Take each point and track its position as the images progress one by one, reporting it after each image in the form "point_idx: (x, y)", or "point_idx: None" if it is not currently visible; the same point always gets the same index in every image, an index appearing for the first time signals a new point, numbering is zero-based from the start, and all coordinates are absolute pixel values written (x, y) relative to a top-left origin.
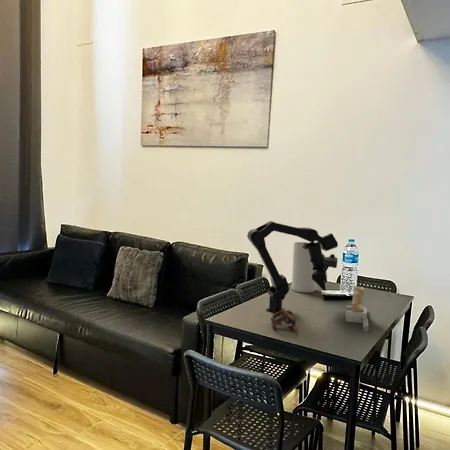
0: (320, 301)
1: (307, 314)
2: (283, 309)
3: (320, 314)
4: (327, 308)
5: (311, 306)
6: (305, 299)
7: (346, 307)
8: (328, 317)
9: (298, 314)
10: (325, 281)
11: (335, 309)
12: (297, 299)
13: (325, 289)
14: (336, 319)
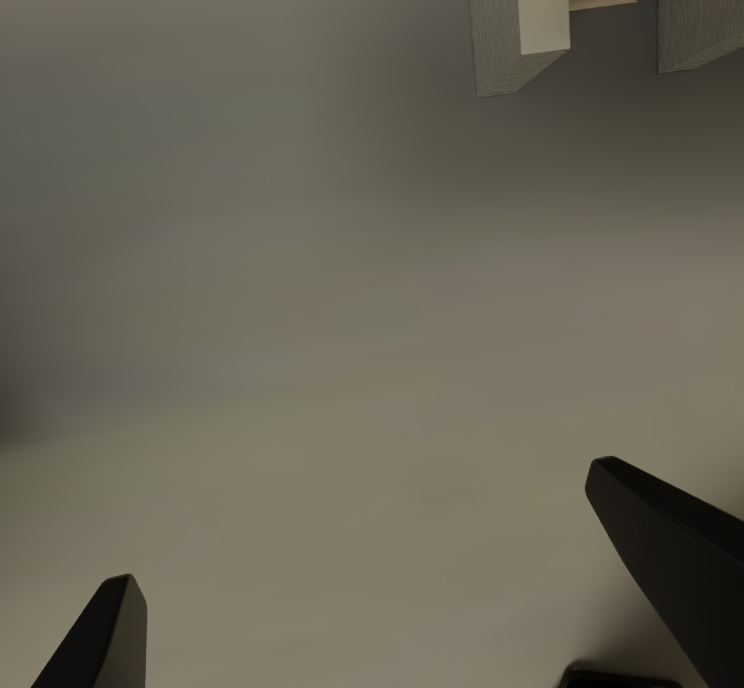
0: (58, 466)
1: None
2: (593, 683)
3: (555, 365)
4: (300, 341)
5: (318, 504)
6: None
7: (565, 48)
8: (623, 271)
9: None
10: (135, 624)
11: (289, 249)
12: None
13: (628, 466)
14: (660, 179)
